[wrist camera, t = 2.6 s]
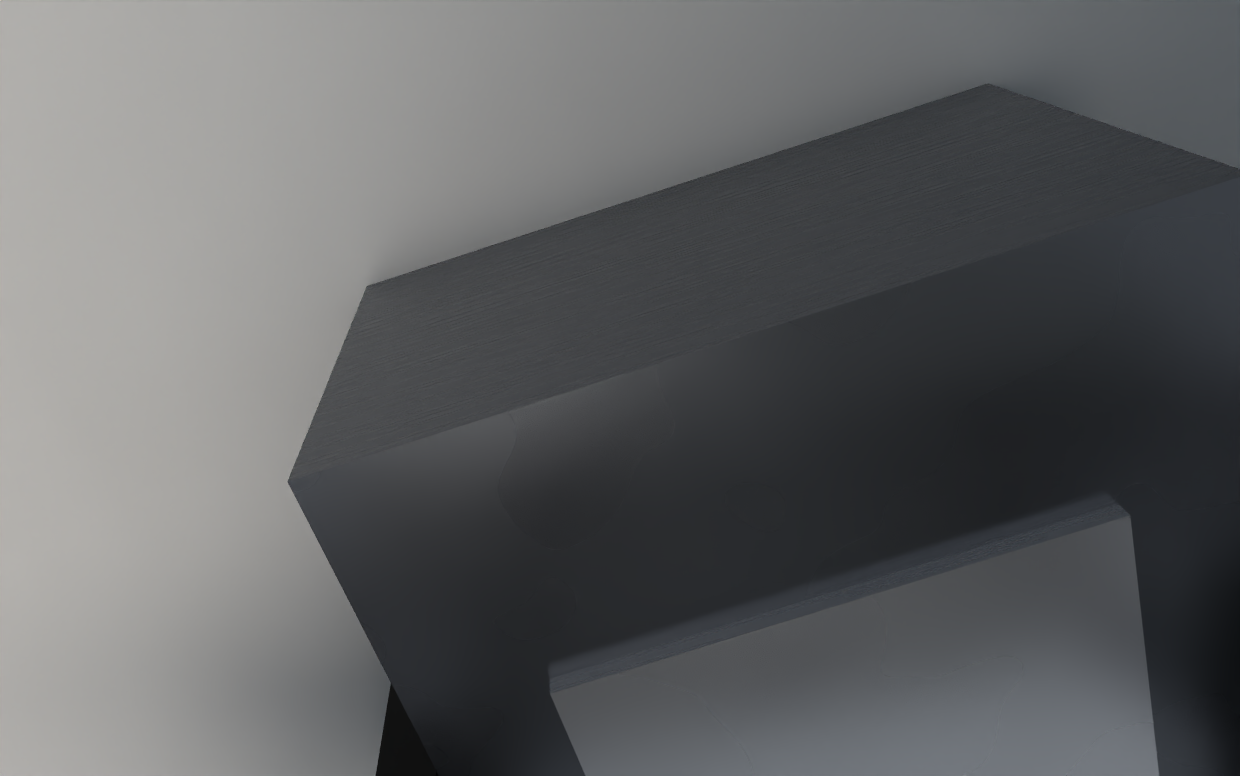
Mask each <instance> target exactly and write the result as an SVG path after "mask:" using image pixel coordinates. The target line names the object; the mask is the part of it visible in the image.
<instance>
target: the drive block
mask: <svg viewBox="0 0 1240 776" xmlns="http://www.w3.org/2000/svg"><path fill="white" fill-rule="evenodd" d="M288 483H289V485H290V487H291V489H292V491H293V493H294V495H295V497H296V499H297V501H298V503H299V505H300V507H301V509H302V511H303V513H304V515H305V516H306V518H307V520H308V522H309V524H310V526H311V528H312V530H313V532H314V534H315V536H316V538H317V540H318V542H319V544H320V546H321V548H322V550H323V551H324V553H325V555H326V557H327V559H328V561H329V563H330V565H331V567H332V569H333V571H334V573H335V575H336V577H337V579H338V581H339V583H340V584H341V586H342V588H343V590H344V592H345V594H346V596H347V598H348V600H349V602H350V604H351V606H352V608H353V610H354V612H355V614H356V616H357V618H358V619H359V621H360V623H361V625H362V627H363V629H364V631H365V633H366V635H367V637H368V639H369V641H370V643H371V645H372V647H373V649H374V651H375V653H376V654H377V656H378V658H379V660H380V662H381V664H382V666H383V668H384V670H385V672H386V674H387V676H388V678H389V680H390V682H391V684H392V686H393V687H394V689H395V691H396V693H397V695H398V697H399V699H400V701H401V703H402V705H403V707H404V709H405V711H406V713H407V715H408V717H409V719H410V721H411V722H412V724H413V726H414V728H415V730H416V732H417V734H418V736H419V738H420V740H421V742H422V744H423V746H424V748H425V750H426V752H427V754H428V756H429V757H430V759H431V761H432V763H433V765H434V767H435V769H436V771H437V773H438V775H439V776H1240V169H1238V168H1235V167H1232V166H1229V165H1226V164H1223V163H1220V162H1217V161H1214V160H1212V159H1209V158H1206V157H1203V156H1200V155H1197V154H1194V153H1191V152H1188V151H1185V150H1182V149H1179V148H1176V147H1173V146H1170V145H1167V144H1164V143H1162V142H1159V141H1156V140H1153V139H1150V138H1147V137H1144V136H1141V135H1138V134H1135V133H1132V132H1129V131H1126V130H1123V129H1120V128H1117V127H1114V126H1112V125H1109V124H1106V123H1103V122H1100V121H1097V120H1094V119H1091V118H1088V117H1085V116H1082V115H1079V114H1076V113H1073V112H1070V111H1067V110H1064V109H1062V108H1059V107H1056V106H1053V105H1050V104H1047V103H1044V102H1041V101H1038V100H1035V99H1032V98H1029V97H1026V96H1023V95H1020V94H1017V93H1014V92H1012V91H1009V90H1006V89H1003V88H1000V87H997V86H994V85H991V84H985V85H982V86H979V87H976V88H973V89H970V90H967V91H964V92H961V93H958V94H955V95H952V96H949V97H946V98H942V99H939V100H936V101H933V102H930V103H927V104H924V105H921V106H918V107H915V108H912V109H909V110H906V111H903V112H900V113H897V114H893V115H890V116H887V117H884V118H881V119H878V120H875V121H872V122H869V123H866V124H863V125H860V126H857V127H854V128H851V129H848V130H844V131H841V132H838V133H835V134H832V135H829V136H826V137H823V138H820V139H817V140H814V141H811V142H808V143H805V144H802V145H798V146H795V147H792V148H789V149H786V150H783V151H780V152H777V153H774V154H771V155H768V156H765V157H762V158H759V159H756V160H753V161H749V162H746V163H743V164H740V165H737V166H734V167H731V168H728V169H725V170H722V171H719V172H716V173H713V174H710V175H707V176H704V177H700V178H697V179H694V180H691V181H688V182H685V183H682V184H679V185H676V186H673V187H670V188H667V189H664V190H661V191H658V192H655V193H651V194H648V195H645V196H642V197H639V198H636V199H633V200H630V201H627V202H624V203H621V204H618V205H615V206H612V207H609V208H606V209H602V210H599V211H596V212H593V213H590V214H587V215H584V216H581V217H578V218H575V219H572V220H569V221H566V222H563V223H560V224H557V225H553V226H550V227H547V228H544V229H541V230H538V231H535V232H532V233H529V234H526V235H523V236H520V237H517V238H514V239H511V240H508V241H504V242H501V243H498V244H495V245H492V246H489V247H486V248H483V249H480V250H477V251H474V252H471V253H468V254H465V255H462V256H459V257H455V258H452V259H449V260H446V261H443V262H440V263H437V264H434V265H431V266H428V267H425V268H422V269H419V270H416V271H413V272H409V273H406V274H403V275H400V276H397V277H394V278H391V279H388V280H385V281H382V282H379V283H376V284H373V285H370V286H367V287H366V290H365V292H364V295H363V297H362V300H361V302H360V305H359V307H358V310H357V312H356V314H355V317H354V319H353V322H352V324H351V327H350V329H349V332H348V334H347V337H346V339H345V342H344V344H343V346H342V349H341V351H340V354H339V356H338V359H337V361H336V364H335V366H334V369H333V371H332V374H331V376H330V378H329V381H328V383H327V386H326V388H325V391H324V393H323V396H322V398H321V401H320V403H319V406H318V408H317V410H316V413H315V415H314V418H313V420H312V423H311V425H310V428H309V430H308V433H307V435H306V438H305V440H304V442H303V445H302V447H301V450H300V452H299V455H298V457H297V460H296V462H295V465H294V467H293V470H292V472H291V474H290V477H289V479H288Z"/></svg>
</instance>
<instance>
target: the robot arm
mask: <svg viewBox="0 0 1240 776" xmlns="http://www.w3.org/2000/svg"><path fill="white" fill-rule="evenodd" d="M376 776H439V775H438V773H437V771H436V769H435V767H434V765H433V763H432V761H431V759H430V757H429V756H428V754H427V752H426V750H425V748H424V746H423V744H422V742H421V740H420V738H419V736H418V734H417V732H416V730H415V728H414V726H413V724H412V722H411V721H410V719H409V717H408V715H407V713H406V711H405V709H404V707H403V705H402V703H401V701H400V699H399V697H398V695H397V693H396V691H395V689H394V687H393V686H392V684H391V686H390V692H389V698H388V704H387V710H386V716H385V722H384V729H383V735H382V741H381V747H380V753H379V759H378V765H377V771H376Z"/></svg>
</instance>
